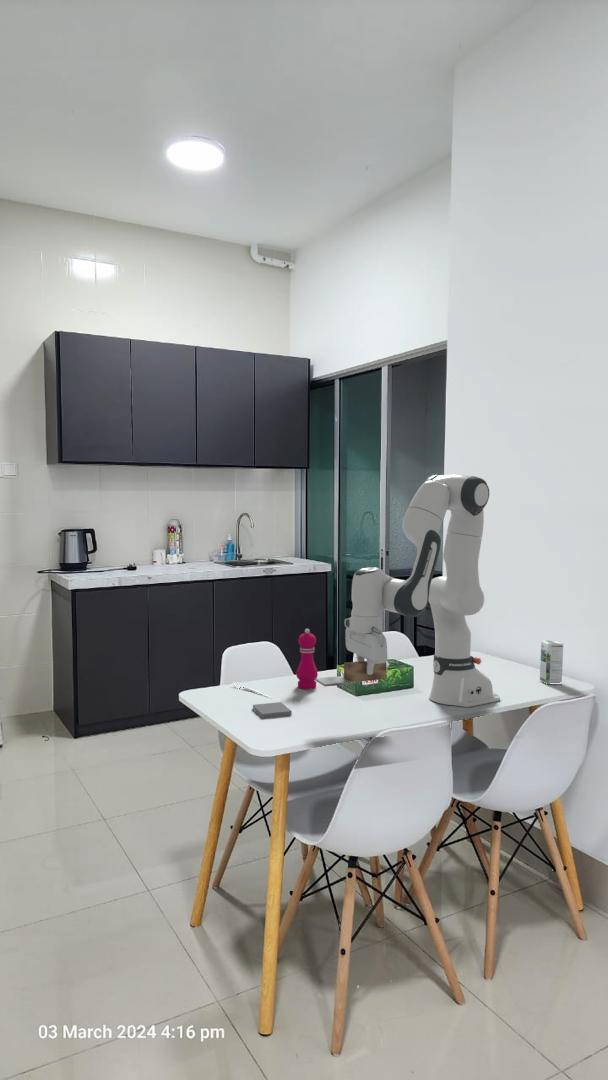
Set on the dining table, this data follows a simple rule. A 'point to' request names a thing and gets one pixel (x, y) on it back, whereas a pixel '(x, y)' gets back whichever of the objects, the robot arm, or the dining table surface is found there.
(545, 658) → the syrup box
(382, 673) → the wood block on plate
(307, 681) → the pepper mill
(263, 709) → the tile
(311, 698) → the dining table surface
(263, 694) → the fork
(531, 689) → the dining table surface
